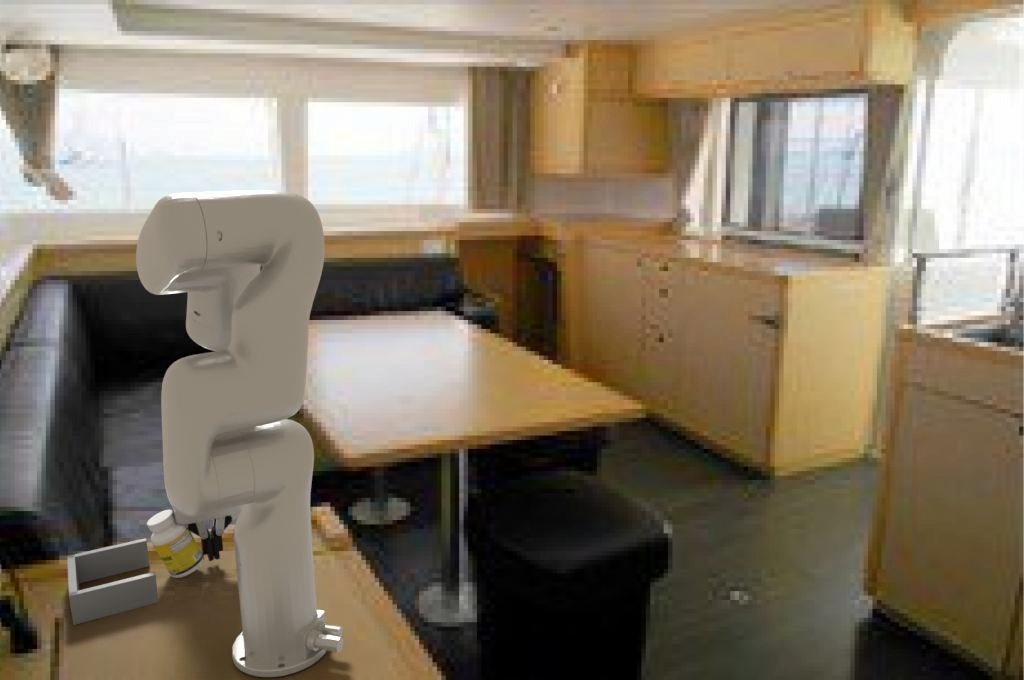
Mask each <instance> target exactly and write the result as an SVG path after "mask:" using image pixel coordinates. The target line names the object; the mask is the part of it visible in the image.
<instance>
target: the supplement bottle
mask: <svg viewBox="0 0 1024 680" xmlns="http://www.w3.org/2000/svg"><path fill="white" fill-rule="evenodd" d="M146 526H147V527H148V529H149V531H150V532H151V533H152V534H151V536H150V541H151V544H152V546H153V547H154V550H155V551H156V553H157V554H158V556H159V558H160V560H161V561H162V563H163V565H164V566H165V567H166V569H167V571H168V573H169V574H170V576H171V577H172V578H176V579H179V578H184V577H186V576H188V575H190V574H192V573H193V572H195V571H196V570H198V569H199V568H200V567H201V566H202V564H203V563H204V561H205V555H203V553H202V549H201V548H200V547H199V544H198V543H197V541H196V539H195V538H194V536H193V533H192V532H191V531H189V529H188V528H187V526H186V525H182V524H178V523H176V519H175V515H174V513H173V510H172V509H165V510H162V511H160V512H158V513H156V514H154V515H152V516H151V517H150V518H149V519H148V520H147V522H146Z"/></svg>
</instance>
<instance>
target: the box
mask: <svg viewBox="0 0 1024 680" xmlns="http://www.w3.org/2000/svg"><path fill="white" fill-rule="evenodd" d="M66 558H67V560H66V563H67V582H68V599H69V604H70V605H69V607H70V611H71V618H72V624H73V626H75V625H79V624H83V623H87V622H90V621H94V620H98V619H101V618H105V617H109V616H113V615H117V614H119V613H120V614H121V613H124V612H128V611H132V610H135V609H139V608H143V607H146V606H149V605H154V604H158V603H160V602H159V601H160V600H159V593H158V586H157V578H156V577H157V576H156V575H157V574H156V572H155V571H153V572H151V571H150V572H148V573H144V574H139V575H136V576H131V577H127V578H123V579H120V580H115V581H112V582H108V583H104V584H100V585H94V586H91V587H87V588H83V589H80V584H82V583H87V582H91V581H95V580H100V579H103V578H107V577H111V576H112V577H113V576H117V575H119V574H123V573H129V572H131V571H132V572H133V571H137V570H140V569H144V568H149V567H150V566H151V565H150V558H149V550H148V541H147V538H146V537H145V538H139V539H136V540H131V541H128V542H121V543H118V544H114V545H109V546H105V547H101V548H97V549H92V550H87V551H83V552H78V553H73V554H70V555H66Z"/></svg>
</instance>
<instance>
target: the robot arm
mask: <svg viewBox="0 0 1024 680" xmlns="http://www.w3.org/2000/svg"><path fill="white" fill-rule="evenodd" d="M325 245H326V243H325V235H324V228H323V223H322V221H321V217H320V214H319V213H318V210H317V208H316V207H315V206H314V204H313V203H312V202H311V201H310V200H309V199H307V198H306V197H304V196H302V195H300V194H297V193H294V192H289V191H283V190H273V189H272V190H271V189H270V190H269V189H268V190H267V189H261V190H260V189H256V190H255V189H254V190H253V189H252V190H251V189H250V190H249V189H248V190H228V191H201V192H199V191H198V192H195V191H193V192H182V193H181V192H180V193H179V192H178V193H172V194H168V195H166V196H162V197H161V198H160V199H159V200H158V201H157V202H156V203H155V204H154V206H153V208H152V210H151V211H150V214H149V215H148V217H147V218H146V220H145V222H144V224H143V226H142V228H141V230H140V233H139V236H138V239H137V244H136V251H135V263H136V270H137V274H138V278H139V280H140V283H141V284H142V286H143V287H144V289H145V290H146V291H148V292H149V293H150V294H153V295H155V296H158V295H159V296H161V295H162V296H163V295H171V294H172V295H173V294H175V295H176V294H182V293H183V294H184V293H187V302H186V303H187V304H186V318H185V319H186V320H185V329H186V330H185V331H186V333H187V334H188V336H189V338H190V339H191V340H192V341H193V342H195V344H197V345H198V346H201V347H202V348H204V349H207V350H210V351H211V352H203V353H198V354H192V355H191V354H190V355H188V356H185V357H181V358H179V359H177V360H176V361H174V362H172V363H171V364H170V365H169V367H168V368H167V369H166V371H165V373H164V377H163V379H162V384H161V395H160V401H161V402H160V405H161V407H160V408H161V429H162V430H161V433H162V435H161V437H162V463H163V464H162V465H163V480H164V488H165V492H166V496H167V499H168V502H169V503H170V506H171V508H172V509H171V510H172V511H173V513H174V515H175V519H176V523H178V524H182V525H186V526H187V528H188V529H189V531H190V532H191V533H192V534H193V535H196V536H198V538H199V537H200V543H201V552H202V553H203V555H204V556H207V558H208V562H212V561H214V560H220V559H221V558H220V557H221V556H220V555H221V554H220V552H223V551H224V545H223V535H224V532H225V530H226V529H227V528H228V527H229V525H230V524H231V523H232V522H233V521H236V522H235V524H234V525H235V526H234V529H233V530H234V531H233V545H234V546H233V547H234V557H235V566H236V577H237V588H238V596H239V607H240V608H239V609H240V618H241V628H242V631H241V632H240V634H238V636H236V638H235V640H234V642H233V644H232V647H231V658H232V662H233V663H234V665H235V667H236V668H237V669H238V670H239V671H240V672H243V673H245V674H247V675H249V676H253V677H260V678H276V677H277V678H278V677H283V676H284V677H285V676H288V675H292V674H295V673H298V672H301V671H303V670H305V669H307V668H308V667H309V668H310V666H312V665H315V663H316V662H318V661H319V660H320V659H321V658H323V656H324V655H326V653H327V652H334V653H341V652H342V649H343V647H344V641H345V639H344V637H343V633H344V627H343V626H341V625H334V624H333V625H331V624H328V622H326V615H325V610H321V609H318V608H317V606H318V605H317V595H316V594H317V593H316V581H315V579H316V578H315V565H314V553H313V539H312V538H313V536H312V521H311V518H312V517H311V515H312V514H311V494H312V493H311V492H312V490H311V489H312V481H313V472H314V465H315V463H314V462H315V450H314V443H313V440H312V437H311V434H310V433H309V432H308V430H307V429H306V427H305V426H303V425H302V424H301V423H299V422H297V421H295V420H293V419H289V418H292V417H293V416H294V415H296V414H297V413H299V411H300V409H301V407H302V406H303V402H304V399H305V392H306V384H307V383H306V382H307V369H308V368H307V366H308V349H309V348H308V346H309V325H310V317H311V316H310V315H311V312H312V308H313V303H314V300H315V297H316V294H317V291H318V287H319V284H320V281H321V277H322V272H323V269H324V262H325V252H326V251H325V250H326V248H325ZM261 266H262V268H261ZM211 520H213V522H212V523H213V524H212V527H211V530H209V529H208V528H207V526H206V523H205V521H211Z"/></svg>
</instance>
